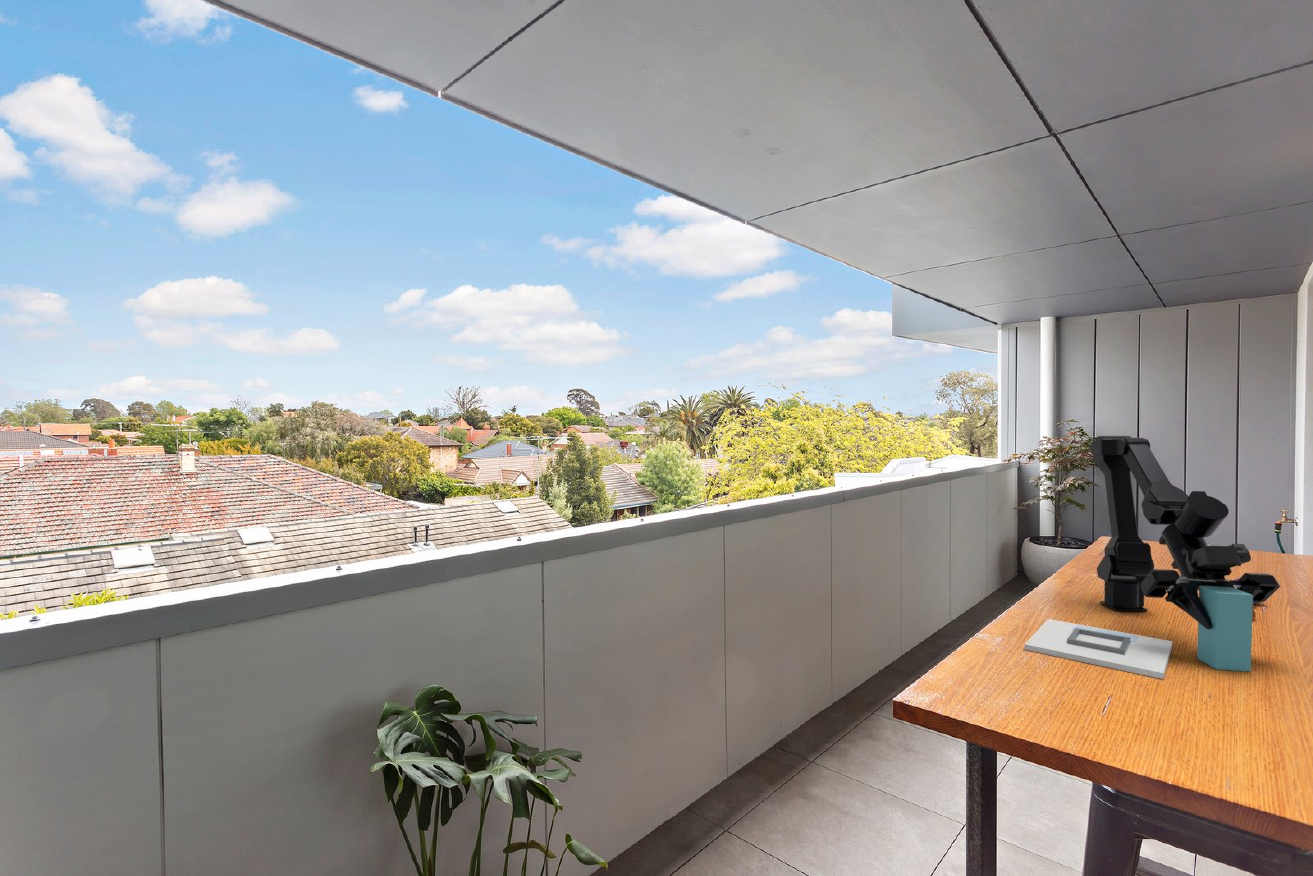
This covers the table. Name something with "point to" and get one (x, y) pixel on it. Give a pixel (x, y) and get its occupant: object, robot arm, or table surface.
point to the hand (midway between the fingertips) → (1229, 629)
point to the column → (1226, 628)
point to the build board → (1102, 647)
